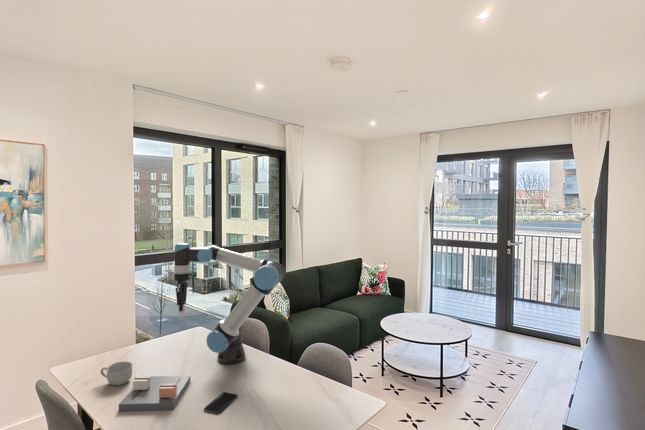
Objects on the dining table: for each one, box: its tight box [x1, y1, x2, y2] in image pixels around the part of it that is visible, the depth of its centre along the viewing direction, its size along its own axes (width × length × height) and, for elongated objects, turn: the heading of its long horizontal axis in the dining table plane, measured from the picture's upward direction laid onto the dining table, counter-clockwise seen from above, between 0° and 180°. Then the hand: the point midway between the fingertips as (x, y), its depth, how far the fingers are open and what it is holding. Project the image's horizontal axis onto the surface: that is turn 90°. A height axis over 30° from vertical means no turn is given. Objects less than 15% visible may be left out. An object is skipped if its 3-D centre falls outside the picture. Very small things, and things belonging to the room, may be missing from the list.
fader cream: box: [132, 376, 150, 390], centre depth 159 cm, size 6×4×4 cm, turn 94°
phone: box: [203, 391, 238, 415], centre depth 154 cm, size 8×1×15 cm
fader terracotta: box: [159, 384, 177, 398], centre depth 153 cm, size 6×4×4 cm, turn 94°
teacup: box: [100, 360, 133, 387], centre depth 171 cm, size 14×11×8 cm
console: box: [118, 375, 191, 412], centre depth 160 cm, size 22×24×3 cm
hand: (181, 316), depth 189 cm, fingers closed
